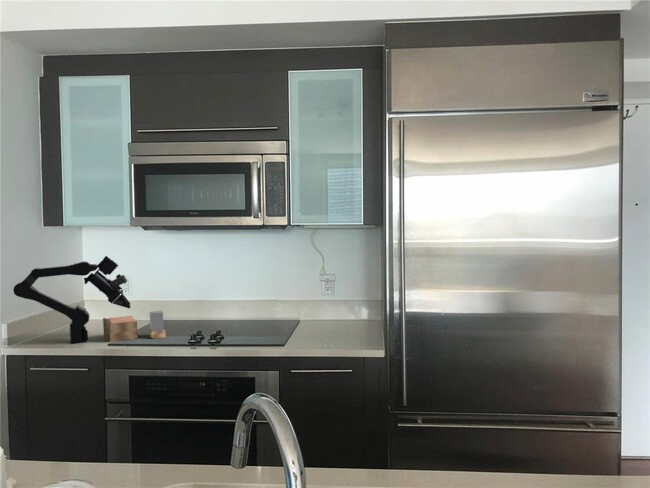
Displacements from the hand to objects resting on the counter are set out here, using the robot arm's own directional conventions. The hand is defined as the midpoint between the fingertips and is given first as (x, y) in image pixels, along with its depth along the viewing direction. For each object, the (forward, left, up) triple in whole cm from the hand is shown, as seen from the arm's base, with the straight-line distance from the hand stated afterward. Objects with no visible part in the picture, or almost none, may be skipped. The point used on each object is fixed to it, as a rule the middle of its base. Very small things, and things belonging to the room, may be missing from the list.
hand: (129, 306), depth 255 cm
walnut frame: (-4, 0, -14) cm, 14 cm away
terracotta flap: (-4, 0, -6) cm, 7 cm away
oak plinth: (+10, -8, -14) cm, 18 cm away
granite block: (+10, -8, -11) cm, 16 cm away
